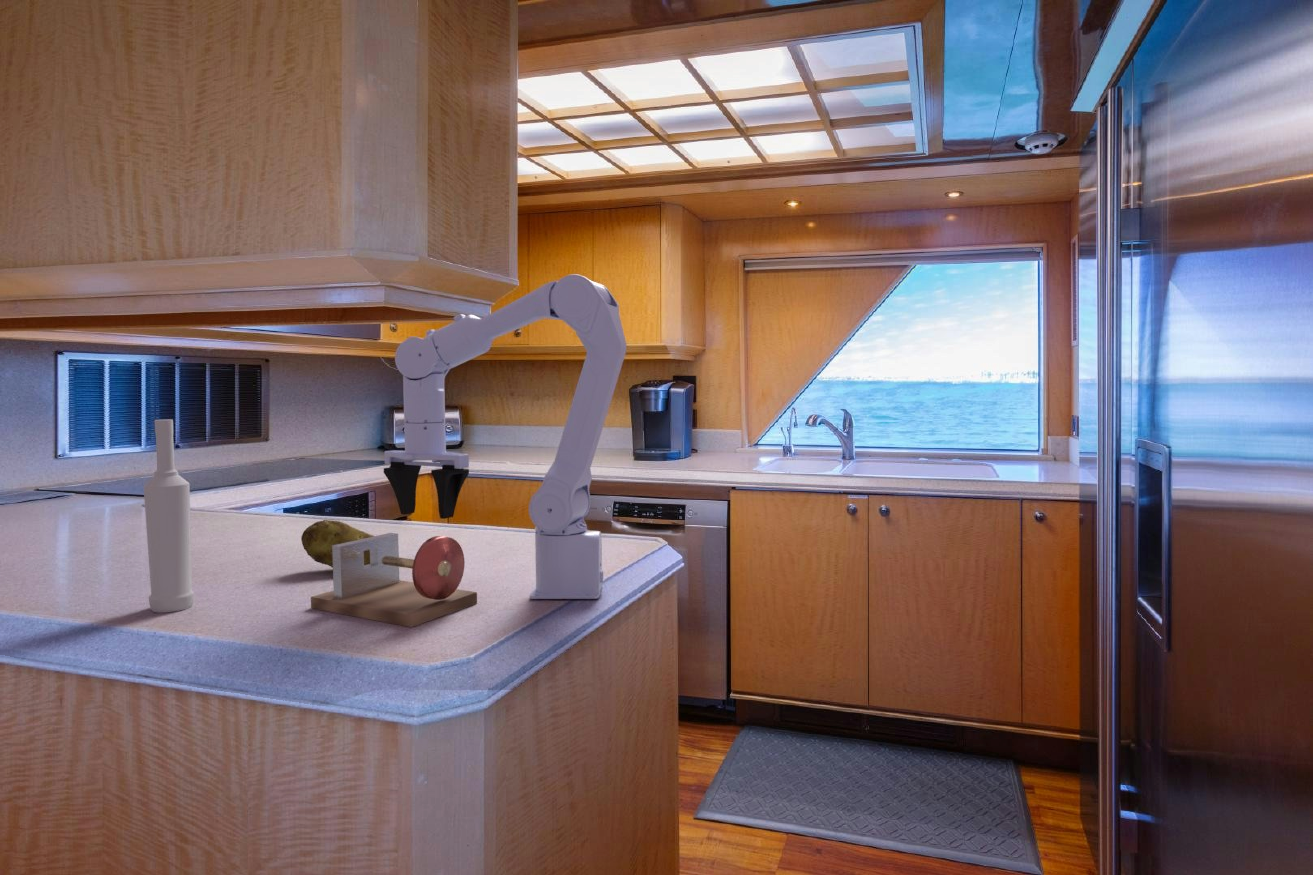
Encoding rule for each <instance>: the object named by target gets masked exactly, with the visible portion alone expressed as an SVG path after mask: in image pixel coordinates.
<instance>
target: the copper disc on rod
mask: <svg viewBox="0 0 1313 875" xmlns="http://www.w3.org/2000/svg"><path fill="white" fill-rule="evenodd" d="M463 551H464V550H463V549H462V546H461V544H460V543H459V542H458V541H457V540H455V538H452V537H448V536H442V535H439V536H438V535H435V536H432V537H429V538H428V539H427V540H425V541H424V542H423V543H422V544H421V545H420V546H419V548H418V550H417V552H416V554H415V556H414V559H413V558H405V557H400V556H399V557H392V556H384V557H383V558H382V563H383V564H384V565H390V566H397V567H399V568H404V569H412V570H411V571H412V572H411V574H412V575H411V577H412V582H413V583H414V586H415V588H416V590H417V591H418V593H419V594H420V595H421V596H423V597H425V598H429V599H435V600H442V599H445V598H447V597H449V596H450V595H452V594H453V593H454V592H455V590H456V589H458V588H459V587H460V584H461V582H462V580H463V576H464V571H465V563H466V562H465V554H464V552H463Z"/></svg>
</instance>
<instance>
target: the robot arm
mask: <svg viewBox="0 0 1313 875" xmlns="http://www.w3.org/2000/svg"><path fill="white" fill-rule="evenodd" d="M543 319H545V320H546V319H547V320H556V321H563V322H564V323H566V325H567V326H569V327H570V328H571V329H572V330H573V331H574V332H575V334H576V335H577V337H578V338H579V340H580V342H581V344H582V345H583V347H584V348H585V351H586V355H585V359H584V362H583V364H582V365H583V366H582V369H581V372H580V374H579V378H578V381H577V385H576V387H575V392H574V394H573V395H574V396H573V399H572V402H571V405H570V408H569V412H568V414H567V419H566V421H565V424H564V428H563V431H562V435H561V439H560V442H559V445H558V447H557V452H556V453H555V454H556V455H555V457H554V461H553V463H552V464H551V466H550V467H549V468H548V470H547V472H546V474H545V475H544V477H543V481H542V484H541V486H540V487H539V489H538V490H537V491H536V492H535V493H533V495H532V496H531V498H530V501H529V505H528V515H529V518H530V520H531V522H532V523H533V524H534V526H535V527H534V530H535V532H534V533H535V534H534V536H535V539H534V540H535V548H534V549H535V585H534V587H533V589H532V590H531V593H530V594H529V599H531V600H564V599H565V600H597V599H599V598H600V594H601V591H602V588H603V583H604V570H603V557H602V555H603V552H602V548H603V547H602V546H603V545H602V544H603V542H602V532H601V531H599V530H589V529H588V526H587V523H586V520H585V518H584V517H586V516H587V514H588V513H589V511H590V508H591V503H592V502H591V501H592V500H591V493H590V487H591V483H592V479H593V476H592V471H591V467H592V464H593V460H594V458H595V455H596V454H595V453H596V451H597V448H598V444H599V441H600V438H601V435H602V432H603V428H604V424H605V421H606V419H607V414H608V411H609V408H610V405H611V402H612V398H613V396H614V392H615V389H616V386H617V383H618V380H619V376H620V373H621V370H622V367H623V362H624V360H625V356H626V353H627V347H628V346H627V342H626V341H627V340H626V337H625V333H624V329H623V324H622V321H621V316H620V305H619V303H618V301H617V300H616V299H615V297H614V296H613V295H612V293H611V291H610V290H609V289H608V288H607V286H606V285H604V284H602V283H599V282H596V281H592V280H590V279H589V278H588V277H586V276H584V275H581V274H573V273H572V274H568V275H565V276H563V277H562V278H560V279H559V280H558V281H557V280H553V281H550V282H547V283H544V284H543V285H541V286H540V287H538V288H536V289H535V290H533V291H531V292H529V293H527V294H525V295H523V296H521V297H519V298H518V299H516V300H514V301H512V302H510V303H508V304H507V305H506V304H505V305H504V306H502V307H501V308H499V309H497V310H495V311H493V312H492V313H490V314H488V315H486V316H484V317H482V318H481V317H479V316H476V315H474V314H467V315H465V314H463V313H460V314H457V315H456V316H454V317H453V322H451V323H449V324H447V325H445V326H442V327H440V328H439V329H436V330H435V329H430V330H429V329H428V330H426V332H425V336H424V338H422V337H420V336H419V337H418V336H409V337H407V338H406V339H405V340H404V341H402V342H401V343H400V344H399V345H398V347H397V348H396V351H395V354H394V362H395V366H396V368H397V370H398V371H399V373H401V375H402V383H403V386H402V387H403V388H402V389H403V424H404V426H403V427H404V429H403V430H404V450H395V449H394V450H385V451H384V465H389V467H384V468H383V474H384V475H385V477H386V479H388V482H389V483H390V485H391V487H392V490H393V491H394V495H395V498H396V501H397V505H398V507H399V512H400V515H409V514H414V513H415V510H416V503H417V502H416V501H417V500H416V498H417V496H416V495H417V483H418V479H419V474H420V472H421V468H422V466H423V467H437V468H438V467H439V468H438V469H431V471H430V473H431V475H432V478H433V481H434V484H435V489H436V493H437V506H438V514H439V519H443V520H445V519H449V518H454V515H455V511H456V505H457V502H458V497H459V496H460V493H461V490H462V487H463V485H464V482H465V481H466V479H467V477H468V475H470V473H469V472H470V470H469V468H470V465H469V464H470V458H469V457H470V456H469V453H460V452H459V453H458V452H450V451H447V444H446V443H447V441H446V440H447V438H446V400H445V399H446V398H445V396H446V395H445V378H446V376H447V374H448V373H449V372H450V370H451V369H454V368H456V367H457V366H460V365H461V364H464V363H466V362H468V361H471V360H472V359H473V360H474V359H475V358H477V357H479V356H481V355H483V354H486V353H487V352H489V351H490V349H491V347H492V344H493V341H494V340H495V339H497V338H499V337H501V336H504V335H507V334H509V333H511V332H514V331H516V330H519V329H521V328H523V327H526V326H528V325H531V324H533V323H536V322H537V321H540V320H543Z"/></svg>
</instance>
